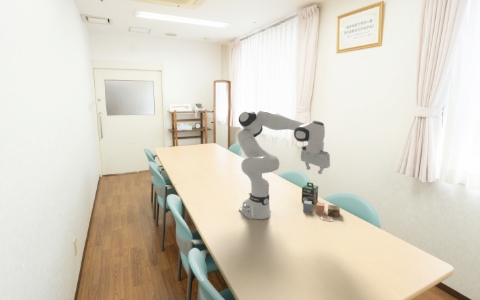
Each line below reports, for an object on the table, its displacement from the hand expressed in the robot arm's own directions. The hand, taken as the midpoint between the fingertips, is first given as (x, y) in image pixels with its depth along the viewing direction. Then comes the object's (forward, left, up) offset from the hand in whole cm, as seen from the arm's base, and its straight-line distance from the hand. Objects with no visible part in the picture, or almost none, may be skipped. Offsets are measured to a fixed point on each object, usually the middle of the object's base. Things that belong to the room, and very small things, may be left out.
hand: (313, 171), depth 158 cm
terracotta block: (-3, +14, -32) cm, 35 cm away
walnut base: (+4, +19, -32) cm, 37 cm away
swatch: (+5, +10, -32) cm, 34 cm away
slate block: (-10, +10, -32) cm, 35 cm away
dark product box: (-19, +24, -32) cm, 44 cm away
